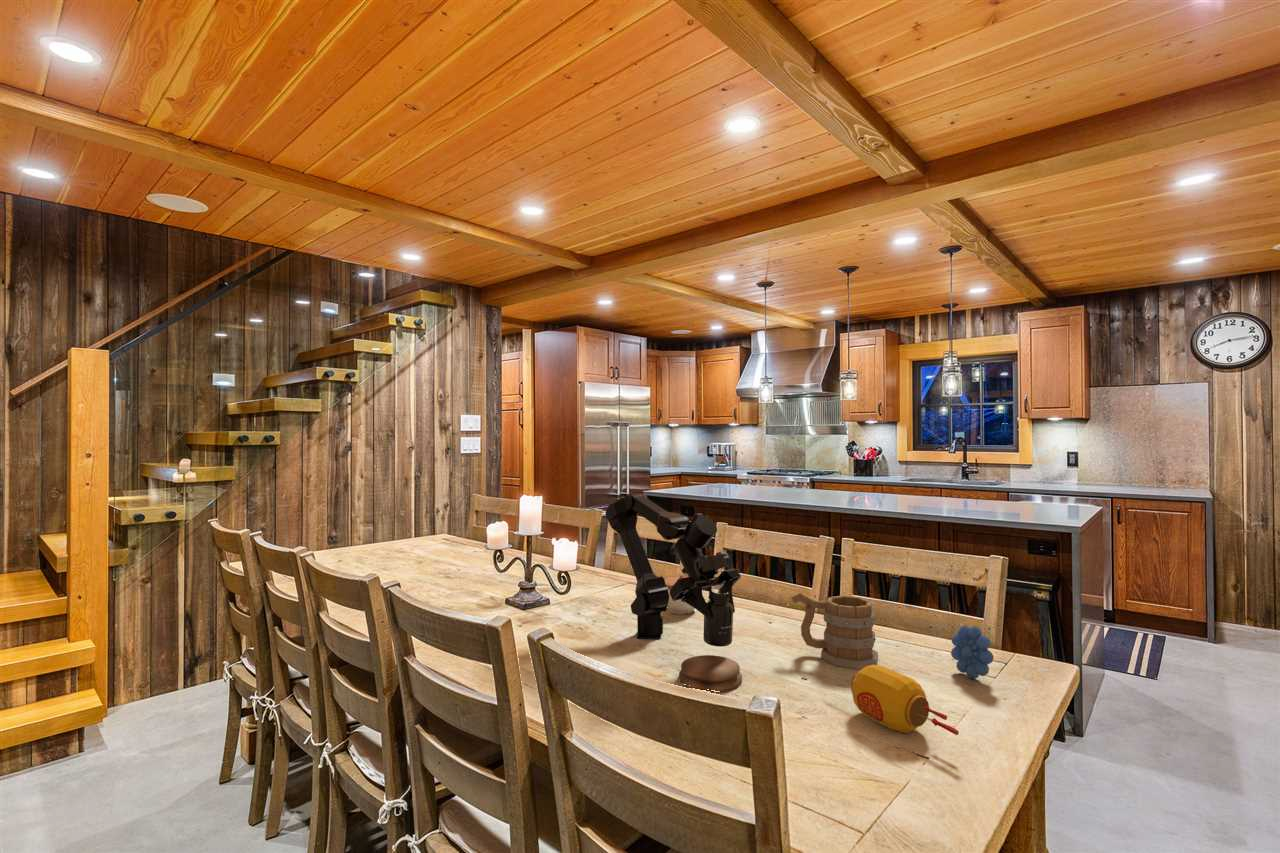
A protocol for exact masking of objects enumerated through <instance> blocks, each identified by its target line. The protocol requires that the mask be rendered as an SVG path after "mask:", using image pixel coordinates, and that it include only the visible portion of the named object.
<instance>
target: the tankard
mask: <svg viewBox="0 0 1280 853" xmlns="http://www.w3.org/2000/svg"><path fill="white" fill-rule="evenodd" d="M791 600H792V602H793V603H794V604H797V603H799V602H801V603H803V604H804V605H805V612H804V618H803V620H802V622H801V625H800V632H801V634H800V635H801V638H802V639H803V641H804V643H805V646H808V647H811V648H815V649H819V650H820V649H822V650H821V651H820V658H821V659H822V660H824V661H826V662H827V663H829V664H831V665H833V666H835V667H839V668H840V667H841V668H847V669H853V670H861V669H863V668H864V667H866V666H870V665H878V660H879V652H878V651H876V650H875V649H873V648H874V646H875V642H876V640H877V638H876V632H875V631H874V630H873V627H874V625H875V622H876V616H875V611H873V602H872V601H870V600H868V599H866V598H863V597H859V596H851V595H849V596H848V595H837V596H829V597H828V598H827V600H826V601H823V600H816V599H814V598H812V597H809V596H808V595H806V594H804V593H803V592H799V593H796V594H794V595H791ZM816 609H821V610H822V609H823V610H824V611H823V621H824V622H825V623H826V627H825V629H824V631H823V638H822V639H821V638H819V639H817V638H814V637H813V636H812V634H811V626H812V623H813V621H814V618H815V610H816Z"/></svg>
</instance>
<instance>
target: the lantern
mask: <svg viewBox="0 0 1280 853" xmlns="http://www.w3.org/2000/svg"><path fill="white" fill-rule="evenodd" d="M829 671H830V672H832V673H835V674H836V675H839V676H841V677H843V678H845V679H847V680H849V681H851V683H850V690H851V693H852V694H851V695H852V699H853V703H854V705H855V706H856V707H857V709H858V710H859V711H860V712H861V713H862V715H863V716H865V717H868V718H870V719H872V720H873V721H874V722H876V723H879V724H880V725H882V726H884V727H886V728H888V729H890V730H893V731H896V732H898V731H899V733H903V734H904V733H910V732H912V731H914V730H916V729H917V728H919V727H921V726H923V725H924V724H925V723H926V721H927V720H928V721H930V722H931V723H932V724H933V725H934V727H936V726H939V727H940V728H942V729H944V730H946V731H948V732H949V733H952V734H953V735H955V736H958V735H959V733H960V732H959V730H958V729H956V728H955V727H953V726H951V725H948V724H946V723H942V722H941V721H938V720H937V718H929V714H930V713H931V714H933V715H935V716H937V717H939V718H940V719H942V720H944V721H946V720H947V719H948V716H947V714H944V713H941V712H938V711H936V710H933V709H931V708H930V703H929V701H928V700H927V696H926V693H925V690H924V689H923V687H922V686H921V684H920V683H919V682H918V681H916V680H915V679H914V678H911V677H909V676H906V675H904V674H903V673H900V672H897V671H895V670H892V669H889V668H888V667H885V666H883V665H880V664H877V665H870V666H866V667H864V668H863V669H859V671H857V672H856V673H855V674H854V675H853V677H852V678H850V677H848V676H846V675H844V674H843V673H840V672H838V671H836V670H833V669H831V668H830V669H829Z"/></svg>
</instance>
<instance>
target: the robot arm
mask: <svg viewBox="0 0 1280 853" xmlns="http://www.w3.org/2000/svg"><path fill="white" fill-rule="evenodd" d="M703 514H704V513H702V512H701V513H695V514H694V516H693V518H692V519H691V520H690V519H689V518H688V517H687V516H686V515H683V514H681V513H678V512H670V511H667V510H665V509H664V508H663V507H661V506H660V505H658V504H656V503H655V502H653V501H651V500H650V499H648V498H647V497H646V495H644V494H643V493H634V494H633V493H631V494H628V495H626V496H624V497H623V498H622V499H619V500H617V501H615V502H613V503H610V504H609V505H608V506H607V508H606V509H605V517H606V519H607V522H608V524H609V526H610V528H611V529H612V530H613V531H614V532H616V533H617V534H619V536H620V539H621V542H622V544H623V546H624V549H625V552H626V555H627V557H628V560H629V563H630V565H631V569H632V570H633V573H634V576H635V579H636V585H635V589H634V590H635V591H634V593H635V596H636V597H635V599H634V600H633V602H632V603H631V604H630V611H631V613H632V614H633V615H636V616H637V619H636V620H637V621H636V622H637V625H636V626H637V633H636V639H655V640H656V639H657V640H658V639H662V635H663V633H664V617H663V616H662V613H663V612H667V609H668V607H667V606H668V602H669V593H668V590H669V589H668V588H667V586H666V584H665V580H664V579H665V578H664V577H663V576H657V575H656V574H655V573H654V570H653V568H652V566H651V563H650V561H649V559H648V556H647V553H646V551H645V547H644V545H643V543H642V540H641V538H640V534H639V532H638V530H637V525H638V524H637V522H638V515H639V516H641V517H642V518H644V519H645V520H647V521H648V522H650V523H651V524H653V525H654V527H656V532H657V533H658V534H659V535H660V537H661V538H663V539H664V540H665V541H671V540H672V541H673V540H676V542H674V543H671V547H670V550H669V554H670V555H671V556H673V555H677V557H678V559H679V561H680V563H681V565H682V567H683V568H682V570H681V572H682V575H684V574H686V575H687V576H685V577H686V578H680V579H678V580H677V581H676V582H675V584H674V585H673V586H672V587H671V589H670V596H671V598H672V600H673V601H676V600H681V599H682V600H681V601H682V602H686V603H687V604H689V605H690V606H692V607H694V608H695V609H694V610H696V611H697V612H700V614H702V616H703V617H704V616H706V617H707V618H708V619H711V618H712V614H711V611H710V609H709V607H708V605H707V603H706V602H707V601H706V599H705V598H704V595H703V589H705V588H710V587H716V588H715V589H723V590H727V591H729V601H728V602H729V603H731V604H732V606H733V614H734V613H735V612H736V609H735V605H734V597H733V586H734V585H735V584H736V583H737V582H738V581H740V579H741V577H742V576H741V574H740V572H739V571H738V569H736V568H729V569H726V568H728V565H727V564H730V562H731V559H730V556H729V554H728V553H727V551H726V550H720V551H719V552H716V553H715V555H714V554H712V555H708V554H703V552H702V550H701V549H704V548H705V547H706V546H707V545H708V543H709V542H710V541H711V540H712V538H713V537H714V536H715V535H716V534H717V532H718V527H717V524H716V523H715V522H714V521H713V520H712V519H710V518H709V517H706V516H704V515H703ZM724 568H725V569H724ZM720 569H724V570H723V571H721V573H720V574H719V575H718V573H719V570H720ZM715 575H718V576H715Z"/></svg>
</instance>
